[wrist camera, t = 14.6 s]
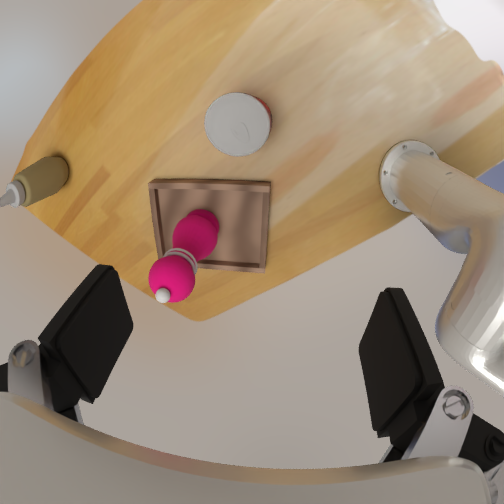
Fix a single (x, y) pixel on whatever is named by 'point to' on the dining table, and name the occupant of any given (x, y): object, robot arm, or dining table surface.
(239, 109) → the canned food
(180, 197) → the walnut tray
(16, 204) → the squeeze bottle
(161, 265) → the pepper mill
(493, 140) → the dining table surface
